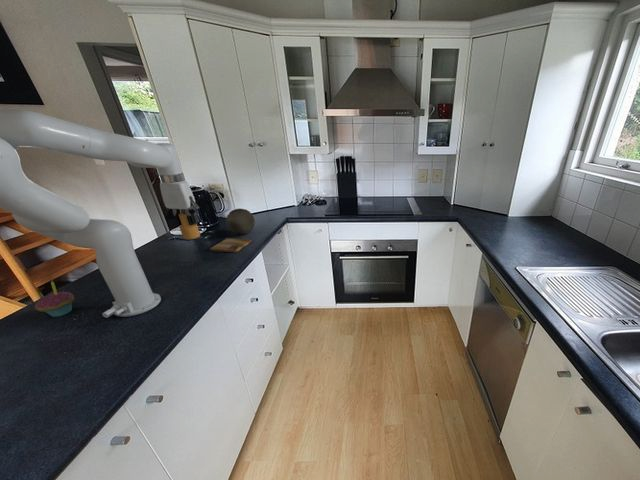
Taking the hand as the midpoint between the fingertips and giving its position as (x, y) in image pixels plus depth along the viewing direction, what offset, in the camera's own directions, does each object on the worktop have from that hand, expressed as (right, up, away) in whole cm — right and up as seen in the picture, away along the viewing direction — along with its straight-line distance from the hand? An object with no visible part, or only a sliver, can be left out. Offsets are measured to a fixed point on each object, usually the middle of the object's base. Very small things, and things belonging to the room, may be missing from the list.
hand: (187, 223), depth 111 cm
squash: (0, -5, +3) cm, 6 cm away
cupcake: (-29, -33, -19) cm, 47 cm away
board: (+1, -8, +31) cm, 32 cm away
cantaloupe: (0, -1, +45) cm, 45 cm away
